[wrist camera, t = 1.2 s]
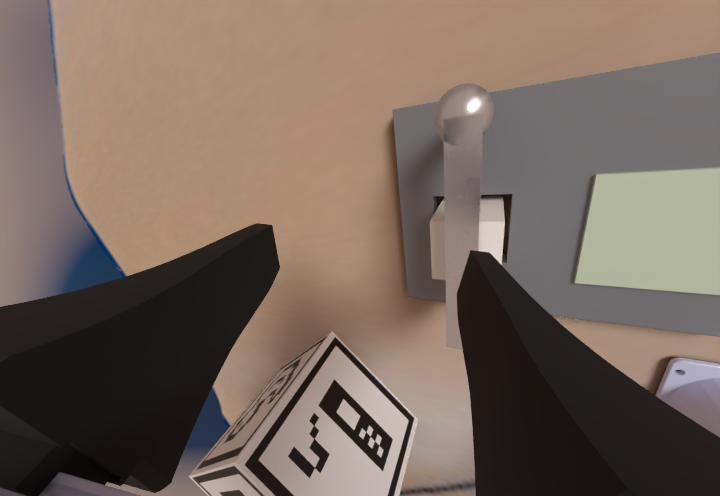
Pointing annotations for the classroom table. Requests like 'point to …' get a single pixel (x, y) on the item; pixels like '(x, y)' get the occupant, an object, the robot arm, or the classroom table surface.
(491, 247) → the plug
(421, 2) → the classroom table surface
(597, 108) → the socket plate
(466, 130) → the ball-topped lever
